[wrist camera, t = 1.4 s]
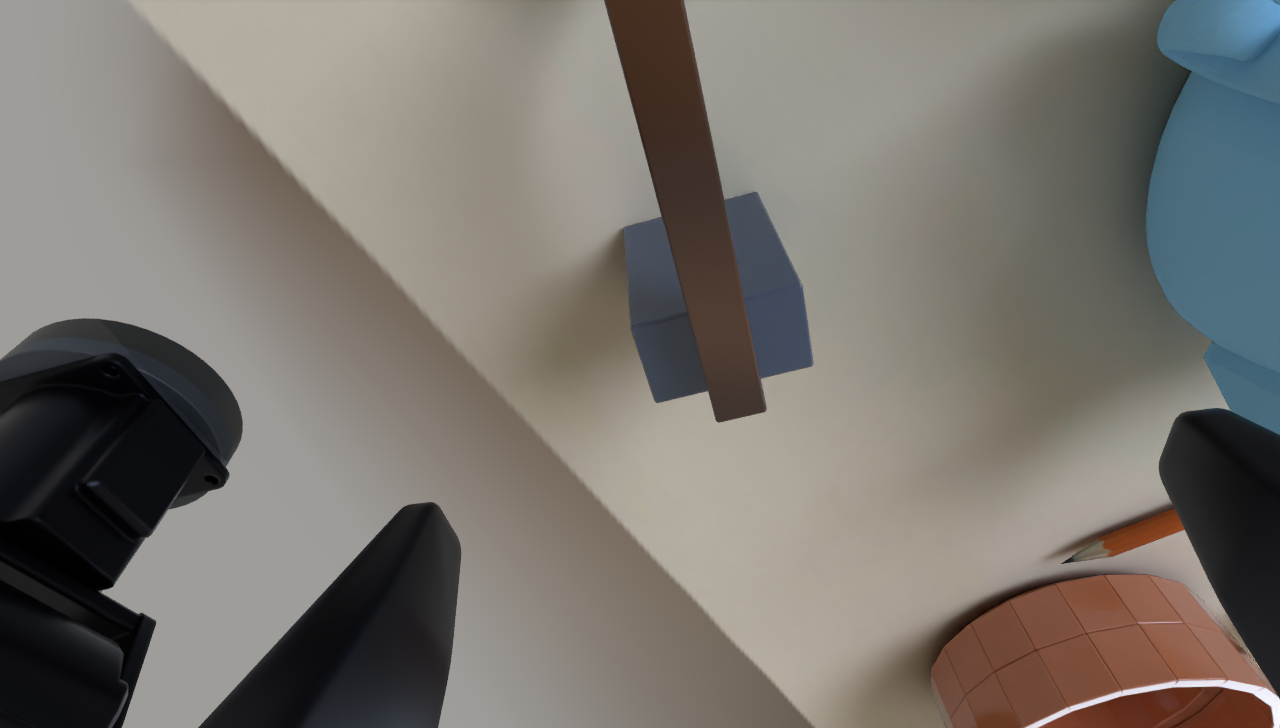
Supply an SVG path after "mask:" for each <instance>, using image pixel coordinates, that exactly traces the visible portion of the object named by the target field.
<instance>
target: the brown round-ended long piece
mask: <svg viewBox="0 0 1280 728" xmlns="http://www.w3.org/2000/svg"><path fill="white" fill-rule="evenodd" d="M604 1H605V5H606V9H607V13H608V16H609V20H610V24H611V28H612V31H613V35H614V39H615V43H616V46H617V50H618V54H619V58H620V62H621V65H622V69H623V73H624V77H625V80H626V84H627V88H628V92H629V95H630V99H631V103H632V107H633V110H634V114H635V118H636V122H637V125H638V129H639V133H640V137H641V141H642V144H643V148H644V152H645V156H646V159H647V163H648V167H649V171H650V174H651V178H652V182H653V186H654V189H655V193H656V197H657V201H658V204H659V208H660V212H661V216H662V219H663V223H664V227H665V231H666V235H667V238H668V242H669V246H670V250H671V253H672V257H673V261H674V265H675V268H676V272H677V276H678V280H679V283H680V287H681V291H682V295H683V298H684V302H685V306H686V310H687V313H688V317H689V321H690V325H691V329H692V332H693V336H694V340H695V344H696V347H697V351H698V355H699V359H700V362H701V366H702V370H703V374H704V377H705V381H706V385H707V389H708V392H709V396H710V400H711V404H712V407H713V411H714V415H715V419H716V421H717V422H724V421H728V420H732V419H737V418H741V417H745V416H750V415H754V414H758V413H763V412H765V411H766V409H767V408H766V403H765V398H764V393H763V388H762V383H761V378H760V373H759V368H758V364H757V359H756V354H755V349H754V344H753V339H752V334H751V329H750V324H749V319H748V314H747V309H746V304H745V300H744V295H743V290H742V285H741V280H740V275H739V270H738V265H737V260H736V255H735V250H734V245H733V240H732V236H731V231H730V226H729V221H728V216H727V211H726V206H725V201H724V196H723V191H722V186H721V181H720V176H719V172H718V167H717V162H716V157H715V152H714V147H713V142H712V137H711V132H710V127H709V122H708V117H707V112H706V107H705V103H704V98H703V93H702V88H701V83H700V78H699V73H698V68H697V63H696V58H695V53H694V48H693V43H692V39H691V34H690V29H689V24H688V19H687V14H686V9H685V4H684V0H604Z"/></svg>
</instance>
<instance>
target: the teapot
mask: <svg viewBox="0 0 1280 728" xmlns="http://www.w3.org/2000/svg"><path fill="white" fill-rule="evenodd" d="M1157 43H1158V47H1159V49H1160V50H1161V52H1162V53H1163V54H1164V55H1165V56H1166V57H1168V58H1169V59H1171V60H1172V61H1174V62H1176V63H1177V64H1179V65H1181V66H1183V67H1185V68H1187V69H1189V70H1191V73H1190V75H1189V77H1188V79H1187V81H1186V83H1185V85H1184V87H1183V89H1182V91H1181V93H1180V95H1179V97H1178V99H1177V101H1176V103H1175V105H1174V107H1173V109H1172V112H1171V114H1170V117H1169V119H1168V122H1167V125H1166V127H1165V130H1164V132H1163V135H1162V137H1161V140H1160V144H1159V147H1158V151H1157V155H1156V159H1155V163H1154V167H1153V171H1152V175H1151V179H1150V186H1149V194H1148V202H1147V211H1146V236H1147V247H1148V251H1149V255H1150V260H1151V264H1152V268H1153V270H1154V272H1155V274H1156V277H1157V279H1158V281H1159V283H1160V285H1161V288H1162V290H1163V292H1164V294H1165V296H1166V298H1167V300H1168V301H1169V302H1170V304H1171V305H1172V306H1173V307H1174V309H1175V310H1176V311H1177V313H1178V314H1179V315H1180V316H1181V317H1182V318H1183V319H1184V320H1186V321H1187V322H1188V323H1189V324H1190V325H1192V326H1193V327H1194V328H1195V329H1196V330H1198V331H1199V332H1201V333H1202V334H1204V335H1205V336H1206V337H1208V338H1209V339H1211V340H1212V341H1213V342H1212V343H1211V345H1210V347H1209V348H1208V350H1207V352H1206V353H1205V355H1204V359H1205V361H1206V363H1207V365H1208V367H1209V369H1210V371H1211V373H1212V375H1213V377H1214V379H1215V381H1216V383H1217V385H1218V387H1219V389H1220V391H1221V393H1222V395H1223V397H1224V399H1225V401H1226V402H1227V404H1228V406H1229V408H1230V410H1231V412H1234V413H1236V414H1238V415H1240V416H1242V417H1244V418H1246V419H1248V420H1250V421H1252V422H1254V423H1256V424H1258V425H1260V426H1262V427H1265V428H1267V429H1269V430H1271V431H1273V432H1275V433H1277V434H1279V435H1280V0H1175V1H1174V2H1173V3H1172V4H1171V5H1170V6H1169V8H1168V9H1167V10H1166V12H1165V14H1164V16H1163V18H1162V20H1161V23H1160V26H1159V29H1158V34H1157Z"/></svg>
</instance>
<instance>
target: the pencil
mask: <svg viewBox="0 0 1280 728" xmlns="http://www.w3.org/2000/svg"><path fill="white" fill-rule="evenodd" d="M1182 530H1185V529H1184V527H1183V525H1182V523H1181V521H1180V519H1179V516H1178V514H1177V512H1176V510H1175V508H1174V509H1172V510H1169V511H1166V512H1164V513H1161V514H1159V515H1156V516H1153V517H1151V518H1148V519H1146V520H1143V521H1140V522H1138V523H1135V524H1133V525H1130V526H1127V527H1125V528H1122V529H1120V530H1117V531H1114V532H1112V533H1109V534H1107V535H1104V536H1101V537H1099V538H1098V539H1096V540H1095V541H1093V542H1092V543H1090V544H1089V545H1087V546H1086V547H1085V548H1083V549H1082V550H1080V551H1079V552H1077V553H1076V554H1074V555H1073V556H1072V557H1071V558H1069V559H1068V560H1066V561H1064V562H1063V563H1061V564H1064V563H1070V562H1079V561H1086V560H1093V559H1100V558H1107V557H1113V556H1115V555H1118V554H1121V553H1123V552H1126V551H1129V550H1131V549H1134V548H1137V547H1139V546H1142V545H1145V544H1147V543H1150V542H1153V541H1155V540H1158V539H1161V538H1164V537H1166V536H1169V535H1172V534H1174V533H1177V532H1180V531H1182Z"/></svg>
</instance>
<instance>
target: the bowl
mask: <svg viewBox="0 0 1280 728" xmlns="http://www.w3.org/2000/svg"><path fill="white" fill-rule="evenodd" d="M931 692H932V694H933V697H934V699H935V702H936V704H937V707H938V709H939V712H940V714H941V717H942V719H943V722H944V724H945V727H946V728H1280V699H1279V697H1278V696H1277V694H1276V692H1275V691H1274V689H1273V688H1272V686H1271V684H1270V683H1269V681H1268V679H1267V678H1266V676H1265V675H1264V673H1263V672H1262V671H1261V670H1260V669H1259V667H1258V666H1257V665H1256V664H1255V663H1254V661H1253V660H1252V659H1251V658H1250V656H1249V655H1248V654H1247V653H1246V652H1245V650H1244V649H1243V648H1242V647H1241V646H1240V645H1239V643H1238V642H1237V641H1236V639H1235V638H1234V637H1233V636H1232V635H1231V633H1230V632H1229V631H1228V630H1227V629H1226V627H1225V626H1224V625H1223V624H1222V622H1221V621H1220V620H1219V619H1218V618H1217V616H1216V615H1215V614H1214V613H1213V611H1212V610H1211V609H1210V608H1209V607H1208V605H1207V604H1206V603H1205V602H1204V600H1203V599H1202V598H1200V597H1199V596H1198V595H1197V594H1195V593H1194V592H1193V591H1191V590H1190V589H1189V588H1188V587H1186V586H1185V585H1184V584H1182V583H1180V582H1176V581H1172V580H1168V579H1164V578H1160V577H1156V576H1152V575H1146V574H1135V575H1099V576H1092V577H1083V578H1076V579H1070V580H1065V581H1061V582H1057V583H1052V584H1049V585H1045V586H1042V587H1039V588H1036V589H1033V590H1030V591H1027V592H1025V593H1022V594H1020V595H1017V596H1015V597H1013V598H1011V599H1008V600H1006V601H1004V602H1002V603H1000V604H999V605H997V606H995V607H993V608H991V609H990V610H988V611H987V612H985V613H984V614H982V615H980V616H979V617H978V618H976V619H975V620H974V621H972V622H971V623H970V624H968V625H967V626H966V627H965V628H964V629H963V630H962V631H961V632H959V633H958V634H957V635H956V636H955V637H954V638H953V639H952V640H950V641H949V642H948V643H947V644H946V645H945V647H943V649H942V651H941V652H940V654H939V656H938V658H937V660H936V661H935V663H934V665H933V667H932V668H931Z"/></svg>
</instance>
